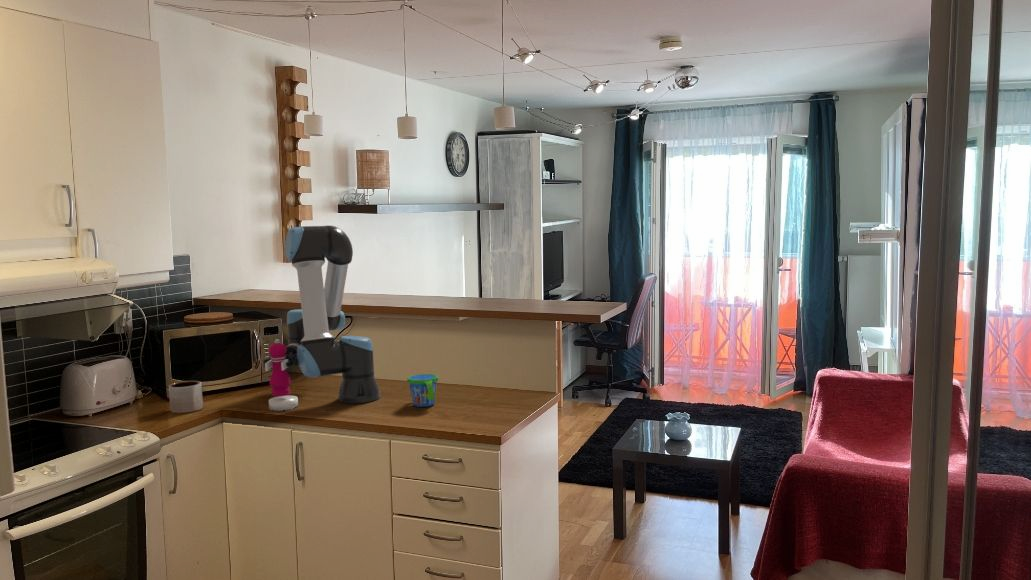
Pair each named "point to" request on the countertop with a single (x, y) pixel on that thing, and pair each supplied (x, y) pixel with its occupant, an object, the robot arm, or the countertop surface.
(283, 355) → the pepper mill
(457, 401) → the countertop surface
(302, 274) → the robot arm
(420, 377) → the snack cup
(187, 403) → the planter
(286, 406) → the ceramic stand
